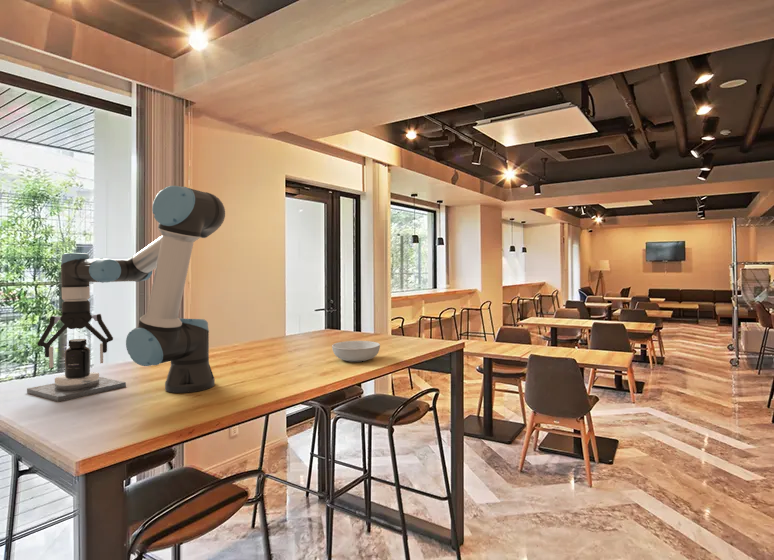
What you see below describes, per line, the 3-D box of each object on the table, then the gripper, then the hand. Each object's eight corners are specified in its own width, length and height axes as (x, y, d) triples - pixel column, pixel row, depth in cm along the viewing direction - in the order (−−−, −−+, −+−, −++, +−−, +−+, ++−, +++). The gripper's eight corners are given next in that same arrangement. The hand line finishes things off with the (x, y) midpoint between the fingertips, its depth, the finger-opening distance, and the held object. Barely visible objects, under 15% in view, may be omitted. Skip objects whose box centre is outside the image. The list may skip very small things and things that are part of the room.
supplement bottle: (68, 379, 141) (67, 342, 141) (62, 376, 146) (61, 340, 146) (93, 375, 146) (92, 339, 146) (86, 372, 151) (86, 337, 151)
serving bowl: (322, 361, 191) (321, 345, 191) (352, 354, 208) (352, 339, 208) (360, 367, 179) (360, 350, 179) (389, 358, 196) (389, 343, 196)
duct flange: (125, 386, 150) (125, 373, 150) (58, 401, 132) (57, 386, 132) (93, 379, 160) (93, 367, 160) (27, 393, 142) (26, 379, 142)
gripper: (120, 298, 155) (121, 359, 156) (29, 301, 143) (31, 367, 143) (120, 299, 149) (121, 362, 149) (25, 302, 136) (26, 371, 136)
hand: (77, 365), depth 146 cm, fingers open, 13 cm apart
